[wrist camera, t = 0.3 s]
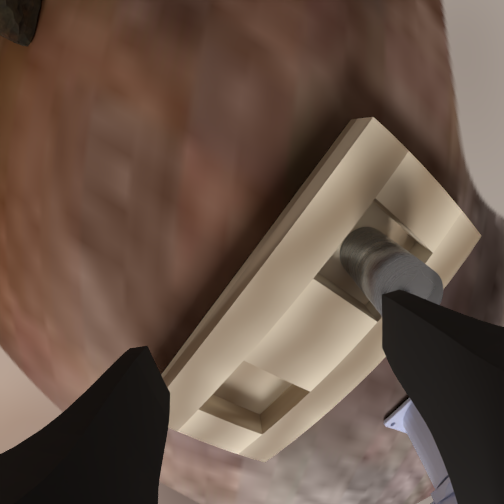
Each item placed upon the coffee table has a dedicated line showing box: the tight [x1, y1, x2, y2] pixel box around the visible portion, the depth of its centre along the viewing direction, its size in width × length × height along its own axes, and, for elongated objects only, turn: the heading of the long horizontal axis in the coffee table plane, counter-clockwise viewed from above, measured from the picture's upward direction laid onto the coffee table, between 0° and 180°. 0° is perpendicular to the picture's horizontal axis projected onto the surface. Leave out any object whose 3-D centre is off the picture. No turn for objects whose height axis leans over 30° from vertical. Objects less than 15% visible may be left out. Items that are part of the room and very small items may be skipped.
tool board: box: [161, 117, 481, 462], centre depth 19 cm, size 10×22×3 cm, turn 145°
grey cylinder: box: [340, 227, 443, 316], centre depth 15 cm, size 3×3×6 cm
